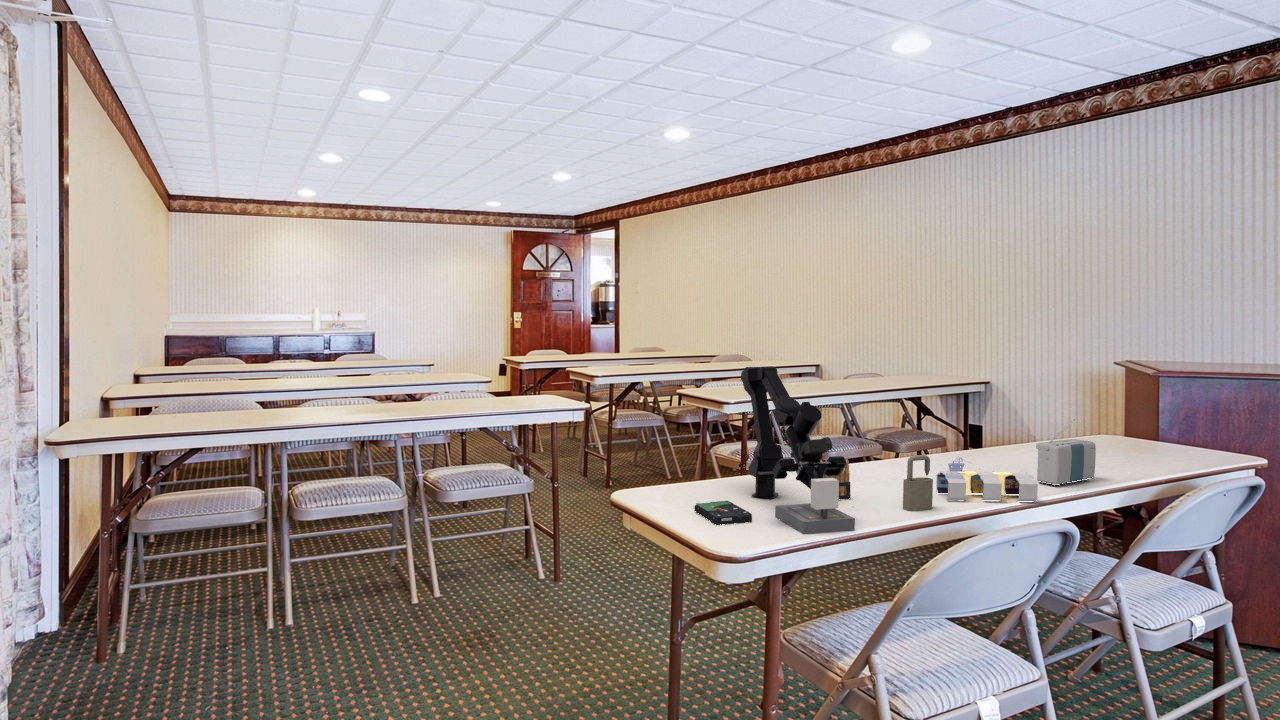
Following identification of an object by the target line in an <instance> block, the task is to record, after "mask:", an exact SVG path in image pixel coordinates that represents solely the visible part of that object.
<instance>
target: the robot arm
mask: <svg viewBox="0 0 1280 720" xmlns="http://www.w3.org/2000/svg"><path fill="white" fill-rule="evenodd" d="M740 379H741V382H742V385H743V390H745V392H746V393H747V394H748V396H749V397H750V402H751V407H752V409H751V410H752V415H753V421H754V422H753V423H754V429H755V434H756V435H755V436H756V443H757V444H756V446H755V448H754V450H753V458H752V460H751V461H750V464H749V466H748V474H749V475H750V476H752V477H754V478H755V484H754V485H755V492H754V493H752V494H751V497H753V498H760V499H770V500H771V499H772V500H774V498H776V497H777V496H779V492H776V480H781V479H782V480H784V479H786V478H787V477H788V473H792V472H795V473H796V477H795V480H796V481H798V482H800V483H801V484H803V485H805V486H806V487H807V488H808V489H809V490H811V479H820V478H823V475H824V474H826V475H827V476H838V475H840V474H841V472H842V471H843V469H844V468H845V466H846V465H847V462H846V458H845V457H844V456H842V455H834V456H833V455H832V456H829V457H828V459H827V461H826V460H825V461H826V462H825V461H823V462H820V460H823V457H824V456H823V454H824V453H828V451H831V450H833V442H832V440H831V438H830V437H829V436H827V437H825V436H824V437H822V438H821V439H818V438H817V439H811V437H810V434H812V433H813V432H814V431H815V429H816V428H817V426H818V424H819V422H820V420H821V419H822V416H823V415H822V412H821V410H820V409H819V408H817V407H816V406H815V405H812V404H811V402H810V401H802V402H801V404H800V403H799V401H797V400H796V399H794V398H792V397H791V396H790V395H789V394H790V393H788V390H787V389H786V386H785V385H784V383H783V381H782V380H781V378H780V376H779V374H778V368H776V367H774V366H746V367H745V368H744V370H742V371H741V373H740ZM767 395H768V396H769V398H770V400H771V401H772V403H773V406H774V412H773V416H774V419H775V422H776V424H777V426H779V427H787V428H786V430H785V433H784V435H783V441H788V444H789V445H788V446H789V447H790V450H791V452H790V454H789V455H790V457H789V458H785V457H784V456H783V452H782V446H781V444H777V443H776V442H775V440H774V434H773V427H772V422H771V413H770V408H769V407H770V406H769V402H768V396H767Z"/></svg>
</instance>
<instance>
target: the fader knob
mask: <svg viewBox="0 0 1280 720" xmlns="http://www.w3.org/2000/svg"><path fill="white" fill-rule="evenodd" d="M838 498H839V480H837V479H834V478H820V479H811V489H810V504H811V507H812V508H814V509H816V510H818V509H821V516H822V517H828V509H834V508H835V509H839V500H838Z"/></svg>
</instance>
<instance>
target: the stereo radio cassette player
mask: <svg viewBox="0 0 1280 720" xmlns="http://www.w3.org/2000/svg"><path fill="white" fill-rule="evenodd" d="M1074 421H1076V419H1075V418H1073V420H1072V421H1071V422H1070V423H1068V424H1067V425H1066V426H1065V427H1064V428H1062V429H1061V430H1060V431H1059V432H1057V434H1056V435H1055V436H1054V437H1052V438H1051V440H1049V441H1044V442H1036V444H1035V448H1036V450H1037V466H1036V467H1037V470H1036V471H1037V472H1036V478H1037V479H1036V481H1037V482H1038V481H1041V482H1046V483H1051V484H1062V483H1067V482H1072V481H1077V480H1082V479H1087V478H1092V477H1095V472H1096V471H1095V470H1096V453H1097V451H1096V449H1097V446H1096V443H1095V442H1094V441H1092V440H1083V439H1076V438H1069V439H1060V440H1055V439H1056V438H1057V437H1058V436H1060V435H1061V434H1062V433H1063V432H1064V431H1065V430H1066V429H1068V427H1070V425H1071V424H1072V423H1073V422H1074ZM1092 479H1093V478H1092Z"/></svg>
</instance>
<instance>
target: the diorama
mask: <svg viewBox="0 0 1280 720" xmlns="http://www.w3.org/2000/svg"><path fill="white" fill-rule="evenodd" d="M956 460H958V462H957V463H956ZM956 460H952V463H951V462H950V463H948V464H947V465H948V469H949V470H946V471H945V470H942V471H941V470H940V471H939V472H937V474H936V480H935V481H936V482H935V486H936V487H935V490H936V494H937V493H948V495H947V497H946V501H947V500H964V501H965V500H966V497H967V495H966V493H983V496H982V500H1000V501H1001V500H1002V496H1001V495H1002V494H1005V493H1006V494H1019V496H1018V499H1017V501H1034V502H1035V503H1036V502H1037V500H1038V487H1039V486H1038V485H1039V484H1038V480H1037V479H1034V475H1032V474H1030V473H1028V472H1002V471H965V470H964V471H963V469H964V466H965V463H962V462H963V457H956ZM982 500H981V501H982Z"/></svg>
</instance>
